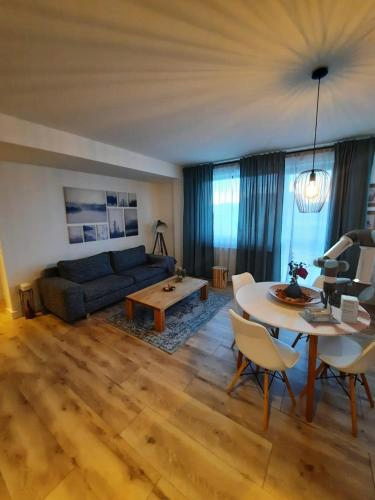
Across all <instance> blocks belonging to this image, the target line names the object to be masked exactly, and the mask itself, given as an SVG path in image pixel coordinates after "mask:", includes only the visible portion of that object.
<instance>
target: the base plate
mask: <svg viewBox="0 0 375 500" xmlns="http://www.w3.org/2000/svg"><path fill="white" fill-rule="evenodd" d="M307 307H308V306H304V312H301V311H299V312H297V313H298V314H299V316H300V317H301V318H302V319H303V320H304V321H306V322H307V324H341V322H340V321H339V320H338V319H336V318H335V317H334V314H333V307H331V309H330V313H331V314H330V315H320V316H314V313H312V312H322V311H320V310H311V309H307ZM322 308H324V305H323V306H322Z"/></svg>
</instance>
